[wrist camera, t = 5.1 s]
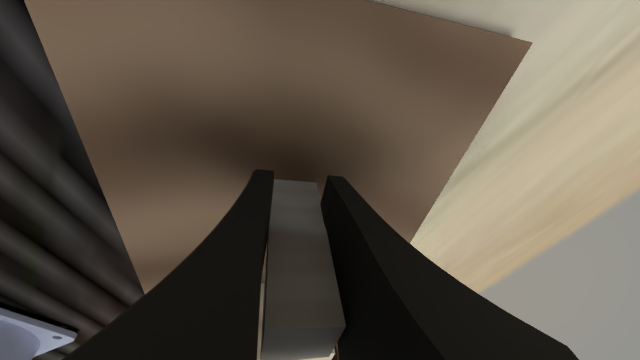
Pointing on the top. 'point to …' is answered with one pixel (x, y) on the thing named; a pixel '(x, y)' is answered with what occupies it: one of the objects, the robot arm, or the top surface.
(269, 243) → the grey handled cream block
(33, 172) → the top surface
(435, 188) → the walnut shelf
